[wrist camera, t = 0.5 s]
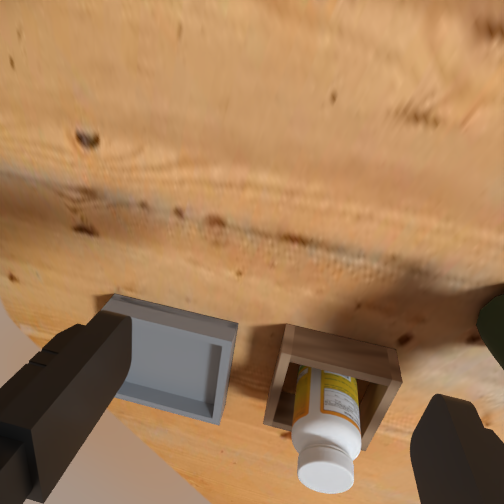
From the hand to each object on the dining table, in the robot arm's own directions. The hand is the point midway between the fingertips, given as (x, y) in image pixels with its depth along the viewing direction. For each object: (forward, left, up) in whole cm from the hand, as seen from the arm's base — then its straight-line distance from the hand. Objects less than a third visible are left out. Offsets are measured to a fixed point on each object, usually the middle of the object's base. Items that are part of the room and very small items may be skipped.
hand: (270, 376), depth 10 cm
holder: (+19, +6, -18) cm, 27 cm away
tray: (+21, -9, -18) cm, 29 cm away
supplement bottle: (+19, +6, -18) cm, 27 cm away
